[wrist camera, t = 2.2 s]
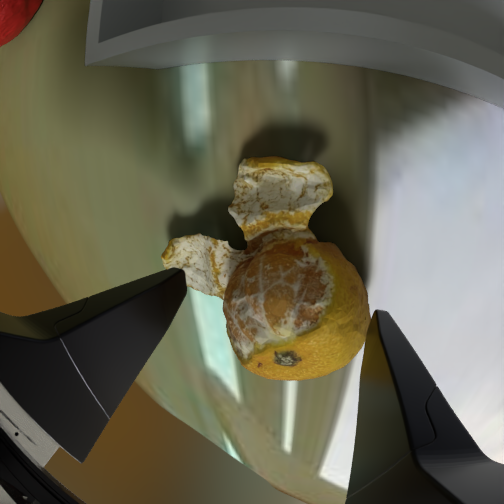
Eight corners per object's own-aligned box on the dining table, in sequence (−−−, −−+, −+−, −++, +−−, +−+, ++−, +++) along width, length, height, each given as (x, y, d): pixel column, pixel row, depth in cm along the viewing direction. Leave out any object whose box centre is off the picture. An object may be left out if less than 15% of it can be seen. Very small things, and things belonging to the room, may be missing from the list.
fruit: (283, 123, 9) (255, 135, 6) (419, 288, 10) (438, 356, 7) (157, 256, 13) (111, 304, 10) (277, 363, 15) (261, 421, 12)
